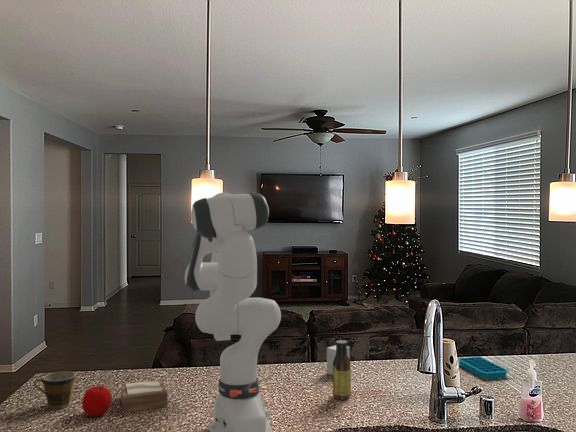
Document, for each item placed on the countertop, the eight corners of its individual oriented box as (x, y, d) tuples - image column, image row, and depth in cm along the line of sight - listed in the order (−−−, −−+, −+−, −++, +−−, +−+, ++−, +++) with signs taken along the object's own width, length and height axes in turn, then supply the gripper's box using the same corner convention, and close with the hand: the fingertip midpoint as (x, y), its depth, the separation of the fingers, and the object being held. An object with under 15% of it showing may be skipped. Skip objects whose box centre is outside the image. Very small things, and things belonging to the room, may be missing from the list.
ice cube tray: (480, 363, 218) (480, 356, 218) (510, 378, 198) (510, 371, 198) (455, 365, 215) (455, 358, 215) (484, 381, 195) (484, 373, 195)
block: (230, 339, 183) (230, 323, 183) (216, 341, 181) (216, 324, 181) (227, 336, 188) (227, 320, 188) (214, 337, 186) (214, 321, 186)
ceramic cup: (79, 399, 175) (78, 370, 175) (71, 410, 165) (71, 380, 165) (38, 401, 173) (38, 372, 173) (29, 413, 163) (29, 382, 163)
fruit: (115, 415, 161) (114, 384, 161) (84, 422, 157) (84, 390, 156) (108, 406, 169) (108, 376, 169) (79, 412, 164) (79, 381, 164)
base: (167, 406, 169) (167, 391, 169) (123, 412, 164) (123, 397, 164) (161, 392, 182) (161, 378, 182) (120, 397, 177) (120, 383, 177)
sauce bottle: (336, 392, 182) (336, 337, 181) (353, 395, 179) (353, 339, 179) (329, 399, 176) (330, 342, 175) (346, 402, 173) (347, 344, 173)
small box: (339, 369, 208) (339, 343, 208) (350, 372, 204) (350, 346, 204) (326, 373, 203) (326, 347, 203) (336, 376, 199) (336, 350, 199)
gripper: (208, 291, 193) (208, 327, 193) (219, 300, 174) (219, 340, 174) (224, 290, 195) (224, 326, 195) (237, 299, 176) (237, 338, 176)
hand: (222, 333), depth 184 cm, fingers closed on block, 5 cm apart
